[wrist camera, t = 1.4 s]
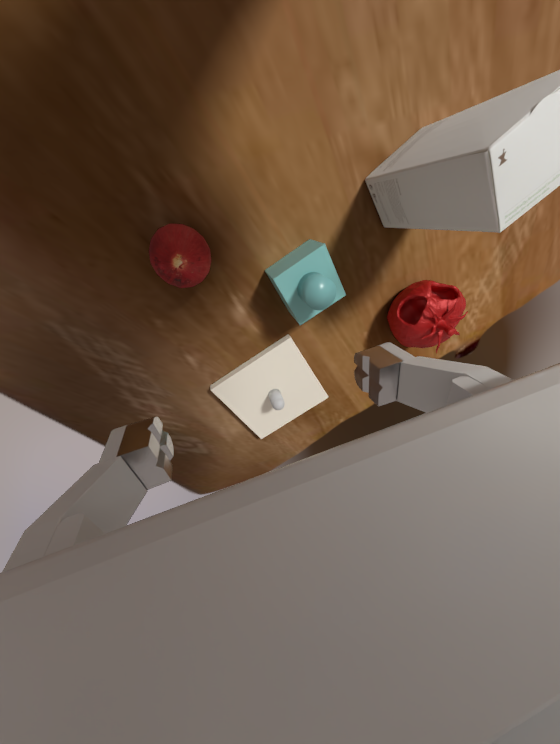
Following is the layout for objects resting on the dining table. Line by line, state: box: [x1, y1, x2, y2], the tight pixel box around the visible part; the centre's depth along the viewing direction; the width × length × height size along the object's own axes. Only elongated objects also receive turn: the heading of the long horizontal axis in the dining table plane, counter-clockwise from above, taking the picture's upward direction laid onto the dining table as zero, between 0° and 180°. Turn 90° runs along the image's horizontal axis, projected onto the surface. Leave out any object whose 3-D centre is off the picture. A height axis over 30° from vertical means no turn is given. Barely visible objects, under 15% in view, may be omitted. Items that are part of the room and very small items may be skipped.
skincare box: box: [365, 70, 560, 233], centre depth 24 cm, size 8×7×16 cm
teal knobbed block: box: [265, 239, 346, 325], centre depth 30 cm, size 7×7×8 cm
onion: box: [149, 224, 211, 288], centre depth 26 cm, size 6×6×8 cm
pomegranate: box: [387, 280, 468, 353], centre depth 37 cm, size 10×10×9 cm
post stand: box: [210, 334, 328, 439], centre depth 40 cm, size 14×14×5 cm
